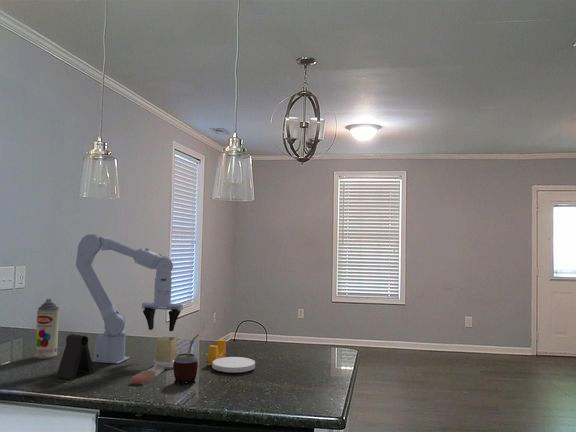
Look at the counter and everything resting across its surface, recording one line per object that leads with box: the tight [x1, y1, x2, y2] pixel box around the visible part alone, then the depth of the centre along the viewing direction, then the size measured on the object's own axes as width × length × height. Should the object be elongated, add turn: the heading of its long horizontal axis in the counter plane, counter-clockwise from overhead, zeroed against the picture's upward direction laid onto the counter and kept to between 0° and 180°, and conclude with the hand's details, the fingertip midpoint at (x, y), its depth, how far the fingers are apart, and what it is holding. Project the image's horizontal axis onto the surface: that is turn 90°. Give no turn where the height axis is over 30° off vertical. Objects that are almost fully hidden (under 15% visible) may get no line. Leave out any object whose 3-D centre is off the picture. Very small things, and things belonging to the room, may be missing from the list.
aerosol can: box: [34, 298, 60, 360], centre depth 171 cm, size 7×7×20 cm
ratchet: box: [130, 358, 174, 385], centre depth 155 cm, size 8×25×5 cm, turn 171°
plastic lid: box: [212, 356, 256, 373], centre depth 163 cm, size 14×14×2 cm
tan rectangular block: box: [155, 336, 178, 362], centre depth 164 cm, size 5×5×7 cm
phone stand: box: [55, 333, 95, 381], centre depth 151 cm, size 9×6×12 cm, turn 156°
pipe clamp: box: [207, 338, 227, 366], centre depth 172 cm, size 12×4×6 cm, turn 172°
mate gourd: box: [172, 334, 199, 386], centre depth 146 cm, size 8×8×15 cm
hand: (161, 330), depth 174 cm, fingers open, 7 cm apart
